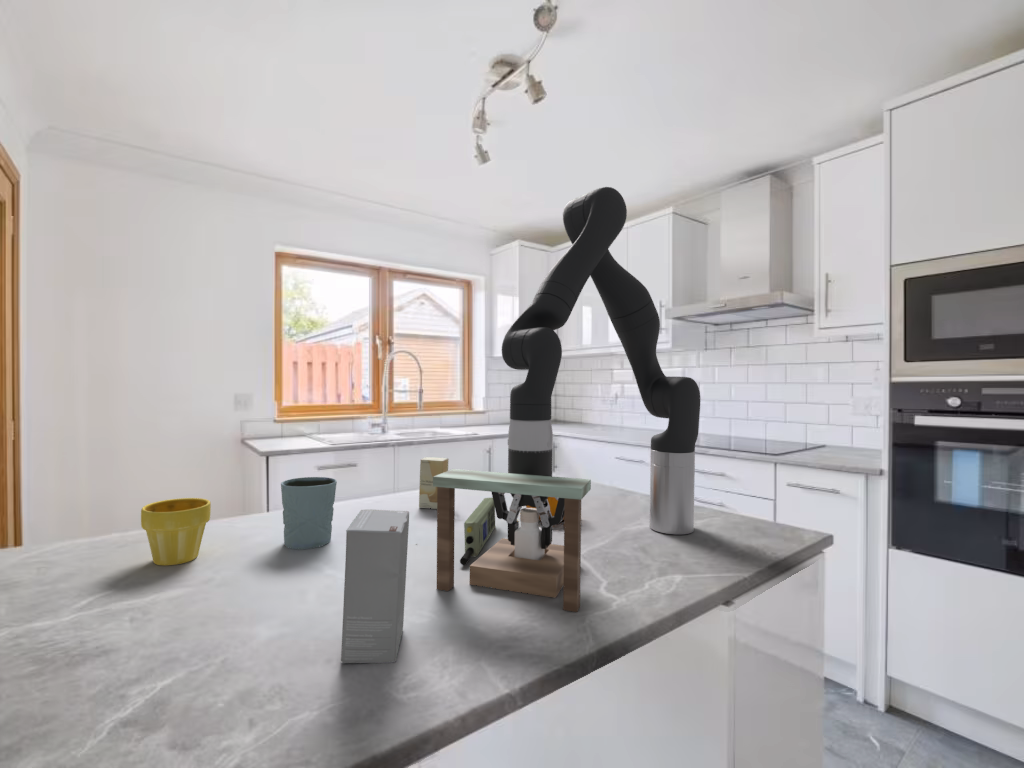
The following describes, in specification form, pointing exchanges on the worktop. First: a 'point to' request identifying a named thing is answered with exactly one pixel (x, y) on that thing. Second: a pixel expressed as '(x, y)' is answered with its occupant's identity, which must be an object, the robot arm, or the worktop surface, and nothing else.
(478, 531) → the handheld radio
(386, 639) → the skincare box
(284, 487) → the teal cup
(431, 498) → the skincare box
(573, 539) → the stand
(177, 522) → the plant pot
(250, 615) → the worktop surface
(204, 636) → the worktop surface
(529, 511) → the pepper shaker
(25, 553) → the worktop surface
